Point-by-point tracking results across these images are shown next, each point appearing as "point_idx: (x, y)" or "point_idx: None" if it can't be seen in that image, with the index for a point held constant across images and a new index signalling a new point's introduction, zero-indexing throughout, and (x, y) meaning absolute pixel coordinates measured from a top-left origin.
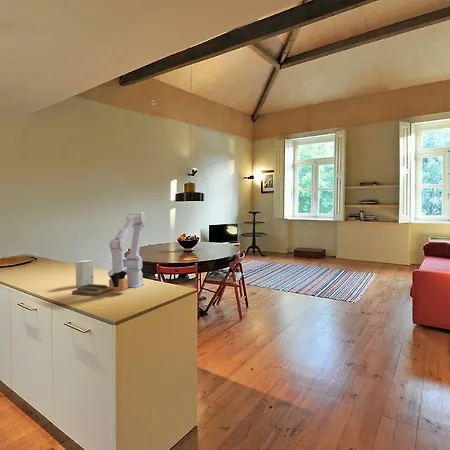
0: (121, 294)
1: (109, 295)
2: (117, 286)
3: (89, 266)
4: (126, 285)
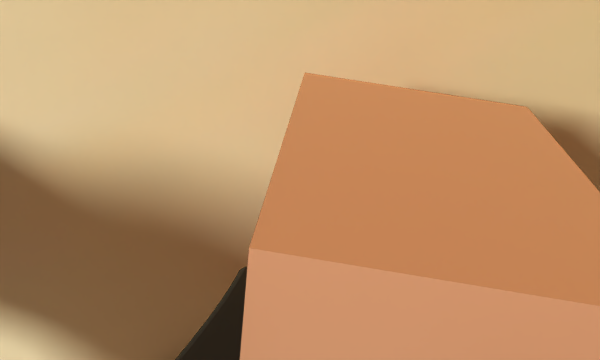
0: None
1: None
2: None
3: None
4: (367, 120)
